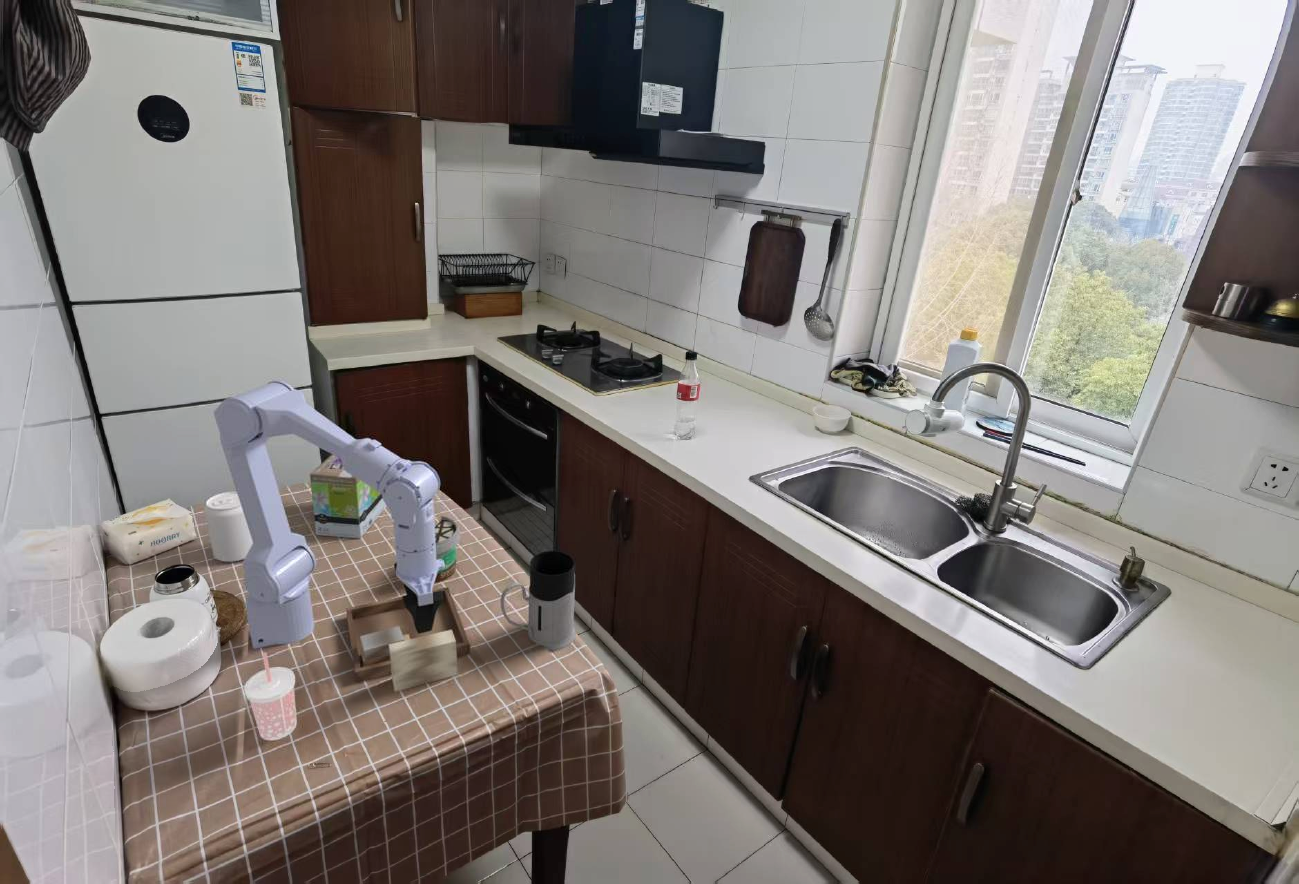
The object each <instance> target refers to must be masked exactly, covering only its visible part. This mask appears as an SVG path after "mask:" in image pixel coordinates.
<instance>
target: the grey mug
mask: <svg viewBox="0 0 1299 884" xmlns="http://www.w3.org/2000/svg"><path fill="white" fill-rule="evenodd" d="M575 562H576V561H575V560H574V558H573V556H571V555H570V554H568V553H566V552H563V551H559V550H548V551H542V552H539V553H537V554H535V555H534V556H533V557H532V558H531V560H530V562H529V587H528V597H527V591H526V588H525V586H524V585H523V584H522V583H520V582H513V583H511V584H509V585H508V586H506V587H505V588H504V590H503V591H502V593H501V596H500V609H501V612H502V615H503V616H504V618H505V620H506V621H507V622H508V623H509V624H510V625H512V626H515V627H517V628H519V629H523V630H526V631H527V635H528V637H529V639H530V640H531V641H532V642H534V643H536V644H537V645H540V646H545V647H546V649H547V651H548V652H554V651H560V650H563V649H565V648H567V647H569V646H570V645H571V644H572V643H573V642H574V641H575V639H576V636H577V635H576V629H575V627H574V620H575V617H574V614H575V592H576V591H575V590H576V589H575V588H576V574H575V568H576V566H575V565H576V564H575ZM514 587H520V588H521V591H522V598H523V600H524V601H526V602H528V626H526V625H522V624H519V623H517V622H514V621H513V620H511V618H509V616H508V615H507V612H506V608H505V597H506V596H507V593H509V591H510V590H512V589H513V588H514Z"/></svg>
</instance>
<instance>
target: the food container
mask: <svg viewBox="0 0 1299 884" xmlns="http://www.w3.org/2000/svg"><path fill="white" fill-rule="evenodd" d="M460 540H461V532H460V529H459V526H458V525H457V523H456V522H455V521H454V520H453V519H452V518H450V517H448V516H445V515H444V516H443V515H440V521H438V523H437V524H435V542H436V560H439V559H442V560H443V561H444V564H445V568H444V569H443V570H439V571H438V572H437V576H436V579H435V582H434V584H437V583H441V582H443V581H446V580H448V579H450V578H451V577H452V576H453V575H454V574H455V573H456V569H457V566H456V565H457V551H458V550H457V549H458V543H459V542H460Z"/></svg>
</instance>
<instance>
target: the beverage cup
mask: <svg viewBox="0 0 1299 884" xmlns="http://www.w3.org/2000/svg"><path fill="white" fill-rule="evenodd" d="M262 658H263V664H264V670H260V671H258V672H256V673H255V674H254V675H252V676H251V677H250V678H249V679H248V680H247V681H246V682H245V684H244V688H243V691H244V693H245V696H246V699H247V700H248V701H249V702H250V707H251V709H252V713H253V716H254V719H255V722H256V726H257V730H258V732H259V735H260V737H261V738H262V739H263V740H266V741H276V740H281V739H284V738H286V737H288V735H290V734H291V733H292V732H293V731H294V730H295V729H296V727H297V723H298V722H297V721H298V720H297V708H296V695H295V684H296V676H295V675H296V674H295V673H294V671H293V670H292V669H290V668H288V667H283V666H276V667H275V666H274V667H273V666H272V667H270V665H269V660H268V655H267V652H265V651H264V652H262Z"/></svg>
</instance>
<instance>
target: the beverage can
mask: <svg viewBox="0 0 1299 884" xmlns="http://www.w3.org/2000/svg"><path fill="white" fill-rule="evenodd" d="M203 510H204V511H203V512H204V517H205V521H206V525H207V529H208V535H209V542H210V545H211V550H212V554H213V557H214V558H215V559H216V560H218V561H221V562H227V563H229V562H239V561H242V560H243V561H244V559H245V557H246V555H247V553H248V552H249V550H250V548H251V546H252V544H253V541H252V538H251V535H250V531H249V528H248V525H247V522H246V519H245V516H244V513H243V510H242V506H241V503H240V500H239V497H238V494H237V491H228V492H227V491H226V492H222V493H218V494H215V495H213V496H211V497H210V498H208V499H207V500H206V503H205V507H204V509H203Z"/></svg>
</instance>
